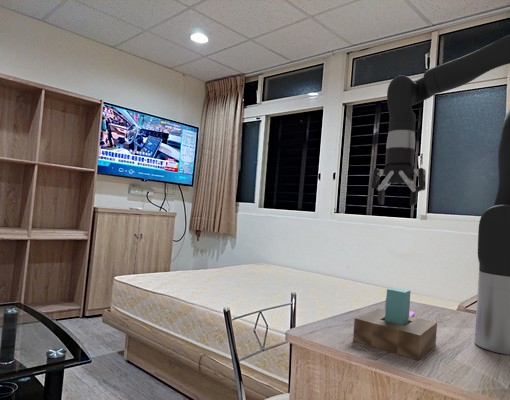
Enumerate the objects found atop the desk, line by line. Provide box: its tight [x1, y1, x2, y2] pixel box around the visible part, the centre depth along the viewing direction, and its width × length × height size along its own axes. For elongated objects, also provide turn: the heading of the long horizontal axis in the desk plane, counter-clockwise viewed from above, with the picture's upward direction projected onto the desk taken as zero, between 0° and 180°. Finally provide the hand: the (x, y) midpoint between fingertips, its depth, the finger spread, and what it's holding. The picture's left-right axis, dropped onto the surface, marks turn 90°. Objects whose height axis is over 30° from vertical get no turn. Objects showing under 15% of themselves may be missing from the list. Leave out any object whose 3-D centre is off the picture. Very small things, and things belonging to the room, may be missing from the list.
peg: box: [384, 286, 411, 326], centre depth 84 cm, size 4×4×12 cm
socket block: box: [352, 308, 438, 361], centre depth 84 cm, size 14×14×5 cm
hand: (396, 205), depth 105 cm, fingers open, 8 cm apart
